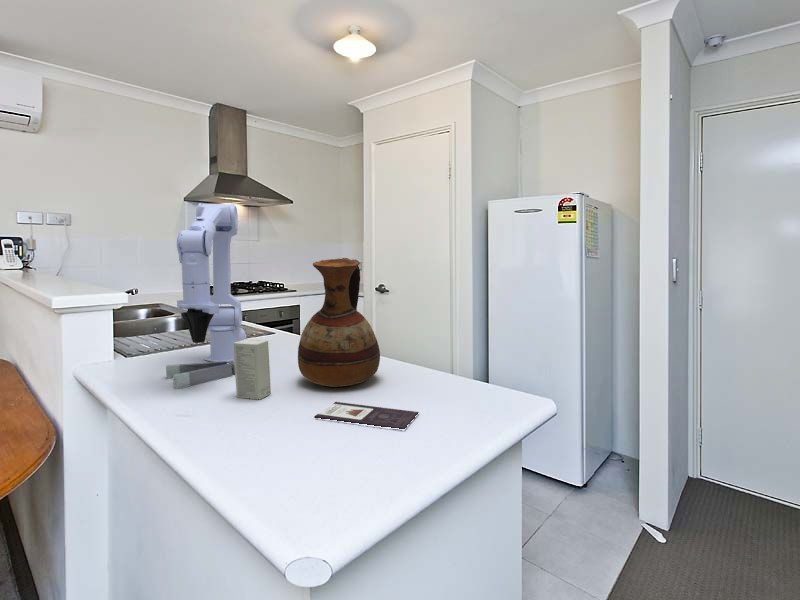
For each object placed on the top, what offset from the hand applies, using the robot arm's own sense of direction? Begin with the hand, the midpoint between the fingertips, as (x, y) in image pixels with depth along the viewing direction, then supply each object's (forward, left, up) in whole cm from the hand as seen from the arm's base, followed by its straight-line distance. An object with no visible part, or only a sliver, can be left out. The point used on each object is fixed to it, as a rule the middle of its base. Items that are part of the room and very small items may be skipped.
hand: (198, 342), depth 108 cm
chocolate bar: (-8, +44, -11) cm, 46 cm away
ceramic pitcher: (-23, +23, -11) cm, 34 cm away
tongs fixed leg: (-6, -7, -10) cm, 14 cm away
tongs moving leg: (-3, -3, -10) cm, 11 cm away
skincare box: (-3, +16, -11) cm, 19 cm away
